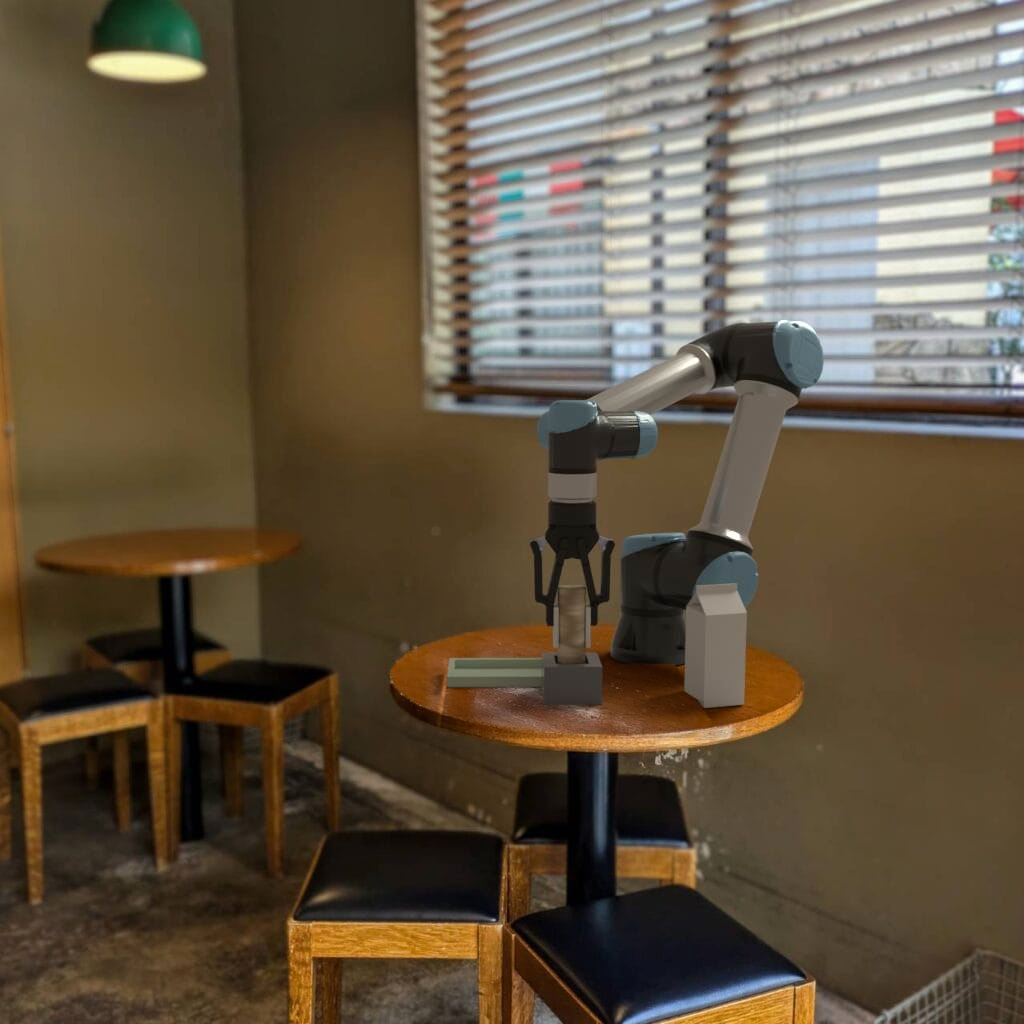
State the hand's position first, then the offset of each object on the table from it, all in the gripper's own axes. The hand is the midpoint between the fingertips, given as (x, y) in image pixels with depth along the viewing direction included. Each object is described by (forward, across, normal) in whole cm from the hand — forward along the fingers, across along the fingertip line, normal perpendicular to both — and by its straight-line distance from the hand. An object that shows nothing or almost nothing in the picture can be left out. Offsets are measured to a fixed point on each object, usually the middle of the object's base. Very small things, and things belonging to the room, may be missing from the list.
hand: (571, 645), depth 175 cm
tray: (+9, +11, -11) cm, 18 cm away
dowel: (+8, 0, 0) cm, 8 cm away
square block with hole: (+9, 0, 0) cm, 9 cm away
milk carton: (+10, -23, 0) cm, 25 cm away
